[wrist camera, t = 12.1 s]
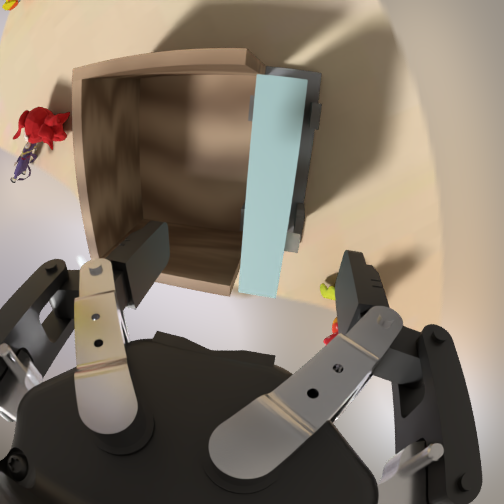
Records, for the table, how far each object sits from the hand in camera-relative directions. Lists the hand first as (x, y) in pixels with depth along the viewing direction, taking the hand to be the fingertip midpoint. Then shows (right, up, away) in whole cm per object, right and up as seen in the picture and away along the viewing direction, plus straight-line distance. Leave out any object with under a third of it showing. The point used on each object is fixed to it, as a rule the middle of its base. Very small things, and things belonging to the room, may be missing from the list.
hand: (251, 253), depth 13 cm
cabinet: (-4, +11, +17) cm, 21 cm away
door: (+3, +9, +16) cm, 19 cm away
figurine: (-31, +17, +20) cm, 40 cm away
